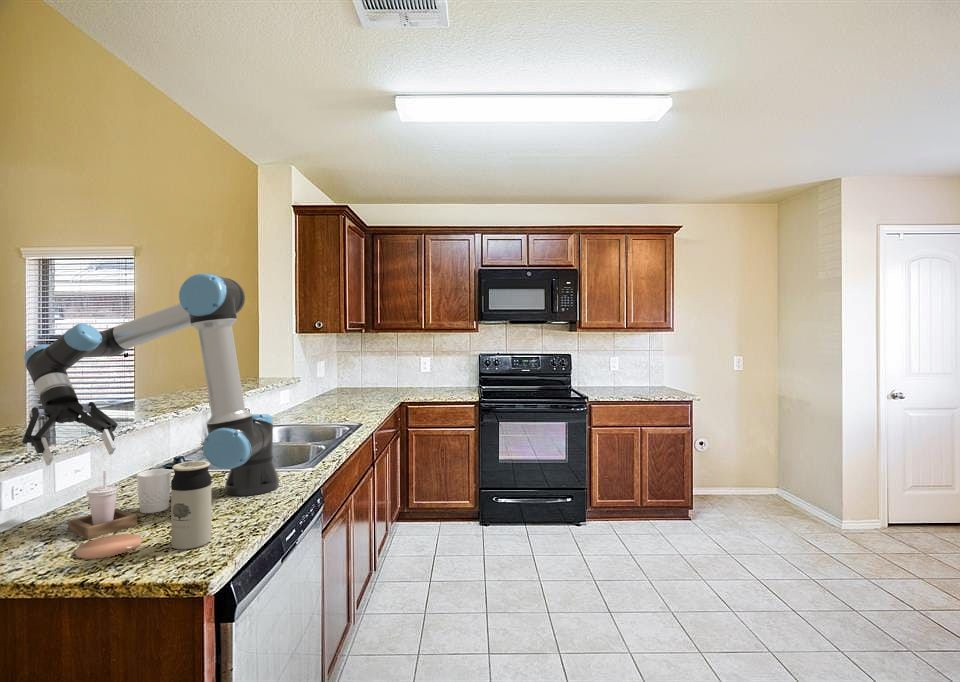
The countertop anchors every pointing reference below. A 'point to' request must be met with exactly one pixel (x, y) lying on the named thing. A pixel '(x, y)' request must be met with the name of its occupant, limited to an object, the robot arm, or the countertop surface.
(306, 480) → the countertop surface
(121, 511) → the brown square wooden frame
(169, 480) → the white cup
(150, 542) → the countertop surface
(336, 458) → the countertop surface
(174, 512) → the travel mug
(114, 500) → the smoothie
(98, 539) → the coaster
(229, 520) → the countertop surface
